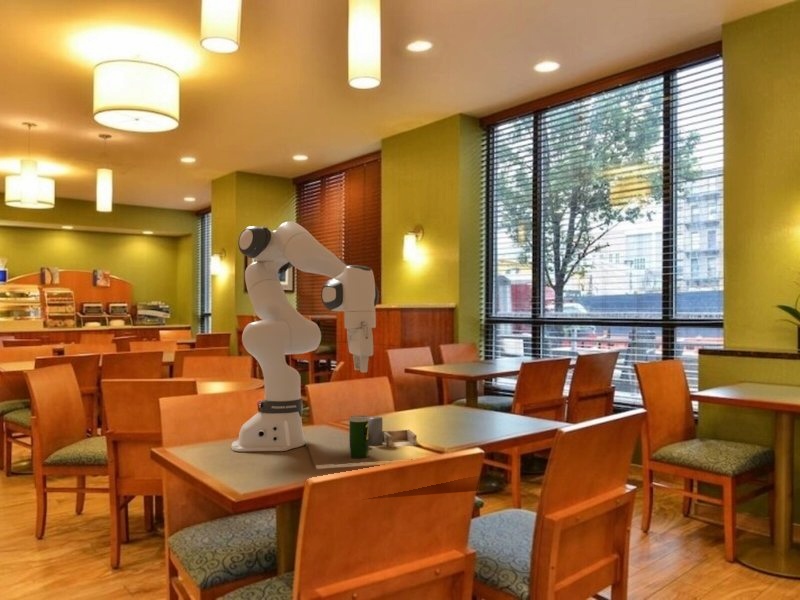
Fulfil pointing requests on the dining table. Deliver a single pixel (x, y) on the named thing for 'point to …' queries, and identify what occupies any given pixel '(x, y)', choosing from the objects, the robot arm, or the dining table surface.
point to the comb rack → (398, 439)
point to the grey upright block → (375, 431)
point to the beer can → (359, 436)
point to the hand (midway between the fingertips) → (360, 371)
